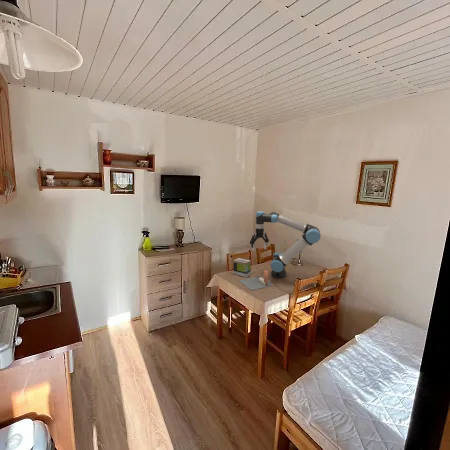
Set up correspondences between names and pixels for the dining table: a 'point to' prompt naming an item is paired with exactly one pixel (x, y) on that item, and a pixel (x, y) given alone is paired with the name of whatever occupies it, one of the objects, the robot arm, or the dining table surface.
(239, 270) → the tea box
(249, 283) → the felt mat
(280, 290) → the dining table surface
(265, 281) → the leg
